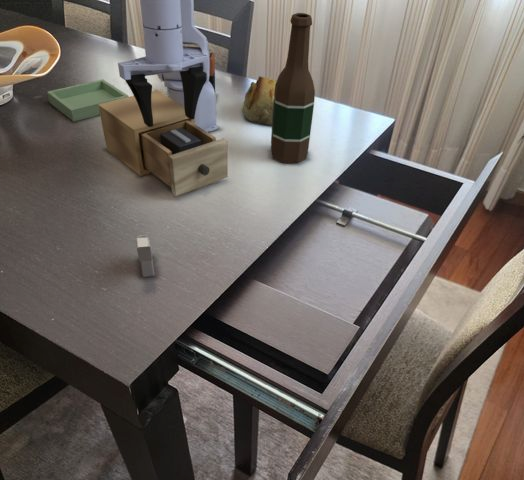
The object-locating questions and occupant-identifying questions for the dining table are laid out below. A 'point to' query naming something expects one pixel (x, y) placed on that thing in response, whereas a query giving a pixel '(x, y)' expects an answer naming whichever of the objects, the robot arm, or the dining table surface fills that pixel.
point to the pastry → (260, 101)
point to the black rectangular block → (179, 140)
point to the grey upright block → (145, 255)
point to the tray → (84, 99)
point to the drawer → (185, 158)
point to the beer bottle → (294, 97)
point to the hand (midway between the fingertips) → (169, 121)
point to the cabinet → (135, 126)
